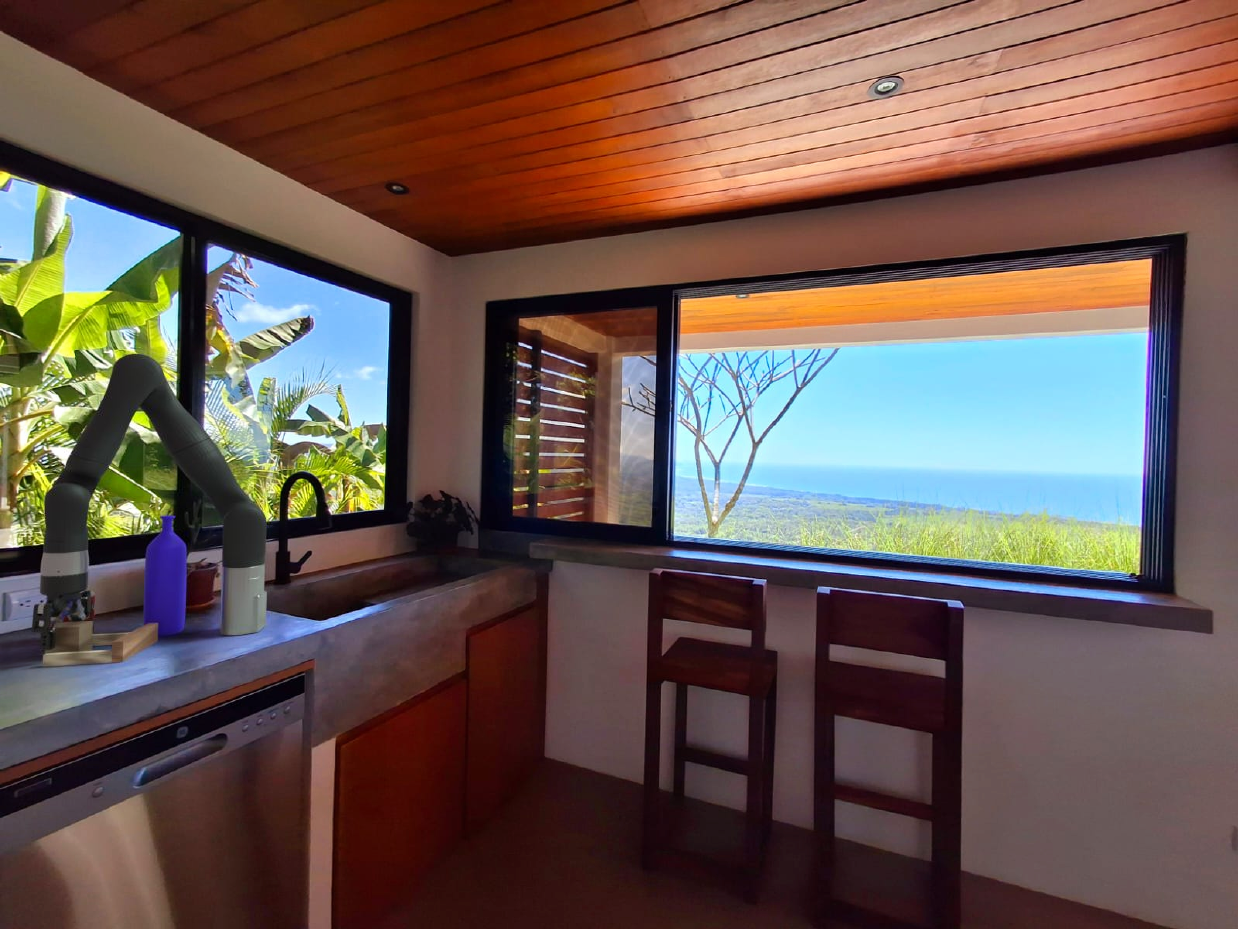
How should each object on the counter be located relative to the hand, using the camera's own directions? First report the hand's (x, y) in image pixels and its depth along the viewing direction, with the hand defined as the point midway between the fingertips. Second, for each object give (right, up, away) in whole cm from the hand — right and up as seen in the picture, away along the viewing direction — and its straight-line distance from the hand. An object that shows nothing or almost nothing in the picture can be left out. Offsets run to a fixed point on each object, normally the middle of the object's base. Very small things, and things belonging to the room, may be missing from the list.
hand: (62, 643), depth 121 cm
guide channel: (+7, -3, +2) cm, 8 cm away
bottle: (+8, -3, +18) cm, 20 cm away
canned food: (-9, -3, +11) cm, 14 cm away
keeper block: (+1, -3, 0) cm, 3 cm away
